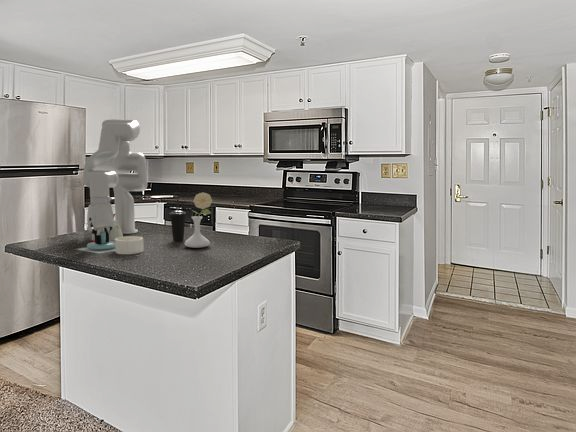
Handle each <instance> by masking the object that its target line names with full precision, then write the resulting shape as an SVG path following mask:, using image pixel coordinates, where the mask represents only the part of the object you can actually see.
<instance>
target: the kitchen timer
mask: <svg viewBox="0 0 576 432" xmlns="http://www.w3.org/2000/svg"><path fill="white" fill-rule="evenodd" d="M113 217H114V218H115V213H113ZM114 223H115V225H116V226H115V227H113V228H112V230H111V231H110V233H109V241H115V239H116V238H119V237H124V234H122V231H121V228H120V226H119V225H118V223H117V222H116V221H115V219H114ZM100 232H104V229H103V227H102V228H100ZM91 242H95V235H94V234H93V233H92V235H91Z"/></svg>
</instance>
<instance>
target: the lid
mask: <svg viewBox="0 0 576 432" xmlns="http://www.w3.org/2000/svg"><path fill="white" fill-rule="evenodd" d="M99 235H101V244H96V243H95V242H92V241H91V242H89V243H87V244H86V247H87V248H88V249H94V250H101V249H110V248H114V247H115V241H109V243H106V232H100V234H99Z"/></svg>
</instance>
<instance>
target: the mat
mask: <svg viewBox="0 0 576 432" xmlns="http://www.w3.org/2000/svg"><path fill="white" fill-rule="evenodd" d="M76 250H77V251H84V252H88V253H94V254H98V255H99V254H104V253H109V252H115V247H114V248H110V249H101V250H94V249H88V248H87V246H86V247H81V248H77V249H76Z"/></svg>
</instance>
